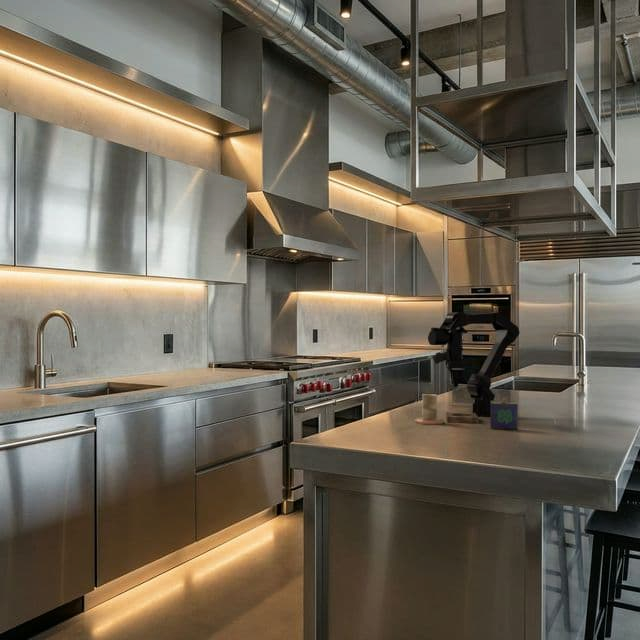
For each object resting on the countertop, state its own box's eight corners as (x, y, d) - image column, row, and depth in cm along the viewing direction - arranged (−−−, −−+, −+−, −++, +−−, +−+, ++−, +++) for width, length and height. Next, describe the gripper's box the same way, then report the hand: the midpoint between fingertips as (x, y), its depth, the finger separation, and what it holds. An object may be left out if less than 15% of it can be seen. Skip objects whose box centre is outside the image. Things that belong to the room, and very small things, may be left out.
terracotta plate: (442, 420, 230) (442, 417, 230) (444, 425, 220) (444, 422, 220) (415, 419, 231) (415, 417, 231) (415, 424, 221) (415, 421, 221)
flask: (516, 428, 214) (516, 397, 214) (518, 430, 211) (519, 398, 211) (489, 428, 215) (489, 397, 215) (491, 429, 212) (491, 398, 212)
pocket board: (475, 418, 235) (475, 413, 235) (478, 423, 224) (478, 417, 224) (445, 417, 237) (445, 412, 237) (447, 422, 226) (447, 416, 226)
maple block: (436, 418, 227) (436, 394, 227) (436, 420, 223) (436, 395, 223) (422, 418, 228) (422, 393, 228) (422, 420, 224) (422, 395, 224)
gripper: (432, 343, 249) (432, 382, 249) (434, 346, 231) (434, 388, 231) (460, 344, 248) (460, 383, 248) (465, 346, 229) (465, 388, 229)
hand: (454, 385), depth 239 cm, fingers open, 9 cm apart
